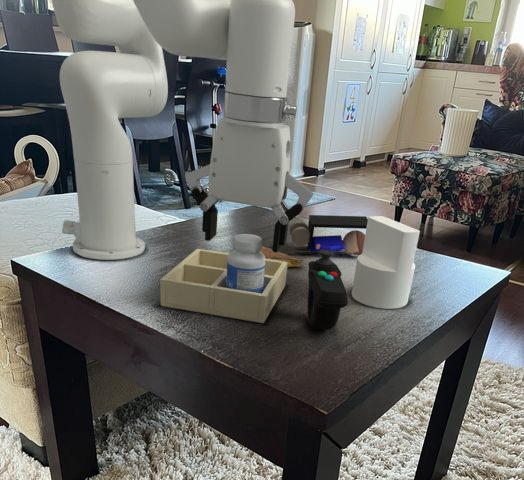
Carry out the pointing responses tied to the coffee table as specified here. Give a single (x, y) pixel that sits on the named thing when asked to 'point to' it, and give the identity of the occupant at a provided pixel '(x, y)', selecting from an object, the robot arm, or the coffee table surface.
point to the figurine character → (350, 242)
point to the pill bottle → (246, 264)
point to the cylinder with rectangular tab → (385, 264)
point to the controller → (325, 292)
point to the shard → (280, 257)
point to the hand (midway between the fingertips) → (243, 243)
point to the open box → (219, 288)
